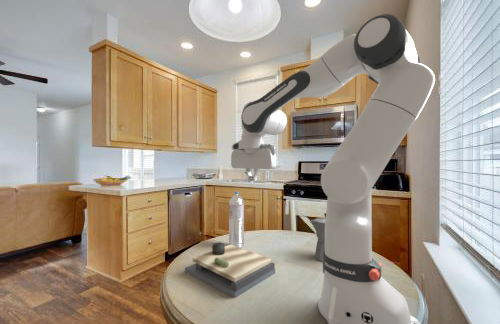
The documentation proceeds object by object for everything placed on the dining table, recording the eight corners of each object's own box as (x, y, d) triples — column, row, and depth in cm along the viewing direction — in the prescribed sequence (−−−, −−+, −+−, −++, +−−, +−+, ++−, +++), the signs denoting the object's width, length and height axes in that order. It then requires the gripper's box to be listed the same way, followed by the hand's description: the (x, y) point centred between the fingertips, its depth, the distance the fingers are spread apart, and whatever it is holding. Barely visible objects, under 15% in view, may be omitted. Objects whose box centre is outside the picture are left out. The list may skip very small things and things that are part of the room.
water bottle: (241, 250, 102) (242, 192, 103) (226, 248, 104) (227, 192, 104) (245, 244, 109) (245, 191, 109) (231, 243, 110) (231, 190, 111)
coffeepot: (311, 262, 90) (311, 215, 90) (307, 253, 99) (307, 210, 100) (353, 263, 89) (353, 216, 89) (344, 254, 98) (344, 211, 98)
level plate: (271, 262, 81) (271, 250, 81) (234, 282, 67) (235, 267, 67) (230, 247, 94) (230, 237, 94) (192, 261, 80) (192, 249, 80)
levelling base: (275, 272, 81) (275, 262, 81) (235, 297, 65) (235, 285, 66) (226, 255, 96) (226, 246, 96) (184, 272, 81) (184, 261, 81)
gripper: (280, 144, 86) (279, 181, 86) (239, 146, 100) (239, 179, 99) (270, 142, 82) (269, 182, 81) (228, 145, 95) (228, 179, 95)
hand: (252, 180), depth 90 cm, fingers closed
